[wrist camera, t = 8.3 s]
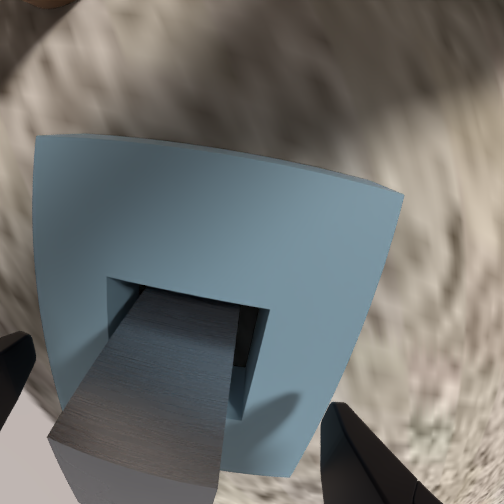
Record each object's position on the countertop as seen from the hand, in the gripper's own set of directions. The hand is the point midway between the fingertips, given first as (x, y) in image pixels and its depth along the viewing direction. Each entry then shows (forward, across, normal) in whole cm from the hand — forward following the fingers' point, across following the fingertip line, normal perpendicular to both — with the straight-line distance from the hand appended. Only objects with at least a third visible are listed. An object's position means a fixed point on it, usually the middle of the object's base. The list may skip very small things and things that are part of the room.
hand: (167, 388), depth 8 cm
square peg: (+4, 0, 0) cm, 4 cm away
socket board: (+4, 0, 0) cm, 4 cm away
